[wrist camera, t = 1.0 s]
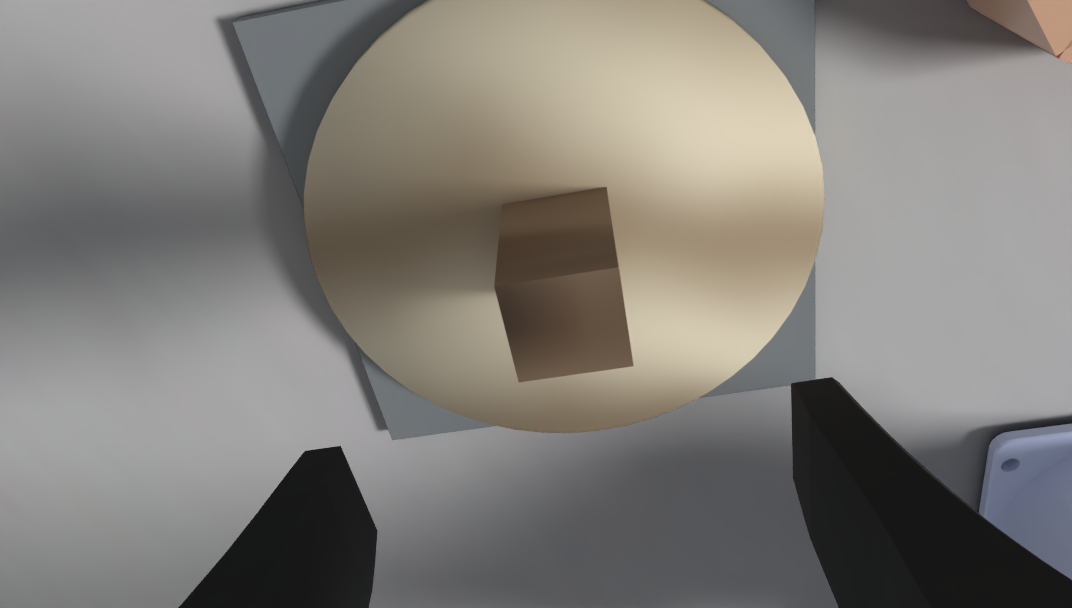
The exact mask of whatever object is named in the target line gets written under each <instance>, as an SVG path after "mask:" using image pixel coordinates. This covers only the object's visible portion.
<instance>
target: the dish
mask: <svg viewBox="0 0 1072 608" xmlns="http://www.w3.org/2000/svg"><path fill="white" fill-rule="evenodd" d="M966 1H967V3H968V4H969V6H970V7H971V8H972V9H974V10H975V11H977V12H979V13H981V14H982V15H984V16H986V17H988V18H989V19H991V20H993V21H994V22H996V23H998V24H1000V25H1001V26H1003V27H1005V28H1007V29H1008V30H1010V31H1012V32H1013V33H1015V34H1017V35H1019V36H1020V37H1022V38H1024V39H1026V40H1027V41H1029V42H1031V43H1033V44H1034V45H1036V46H1038V47H1039V48H1041V49H1043V50H1045V51H1046V52H1048V53H1050V54H1052V55H1053V56H1055V57H1057V58H1059V59H1061V60H1063V61H1066V62H1068V63H1071V64H1072V0H966Z"/></svg>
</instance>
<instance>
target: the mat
mask: <svg viewBox="0 0 1072 608" xmlns="http://www.w3.org/2000/svg"><path fill="white" fill-rule="evenodd" d="M425 1H426V0H325V1H320V2H315V3H310V4H305V5H300V6H295V7H290V8H285V9H280V10H275V11H270V12H265V13H260V14H255V15H250V16H245V17H240V18H237V19H236V20H235V21H234V22H233V25H234V28H235V31H236V33H237V36H238V38H239V41H240V44H241V46H242V49H243V51H244V54H245V57H246V59H247V62H248V64H249V67H250V70H251V72H252V75H253V78H254V80H255V83H256V85H257V88H258V91H259V93H260V96H261V98H262V101H263V104H264V106H265V109H266V111H267V114H268V117H269V119H270V122H271V125H272V127H273V130H274V132H275V135H276V138H277V140H278V143H279V145H280V148H281V151H282V153H283V156H284V158H285V161H286V164H287V166H288V169H289V172H290V174H291V177H292V179H293V182H294V185H295V187H296V190H297V192H298V195H299V198H300V200H301V203H302V205H303V208H304V188H305V181H306V173H307V166H308V160H309V157H310V153H311V150H312V147H313V143H314V140H315V136H316V133H317V130H318V128H319V126H320V124H321V121H322V119H323V117H324V115H325V113H326V111H327V109H328V106H329V104H330V102H331V100H332V98H333V97H334V95H335V94H336V92H337V90H338V89H339V87H340V86H341V84H342V83H343V81H344V80H345V78H346V77H347V75H348V74H349V72H350V71H351V69H352V68H353V66H354V65H355V63H356V62H357V60H358V59H359V58H360V57H361V56H362V55H363V54H364V52H365V51H366V50H367V49H368V48H369V47H370V46H371V45H372V44H373V43H374V41H375V40H376V39H377V38H378V37H379V36H380V35H381V34H382V33H383V32H384V31H386V30H387V29H388V28H389V27H390V26H392V25H393V24H394V23H395V22H396V21H398V20H399V19H400V18H401V17H402V16H404V15H405V14H406V13H407V12H409V11H410V10H412V9H413V8H415V7H417V6H418V5H420V4H422V3H423V2H425ZM706 1H708V2H710V3H711V4H713V5H714V6H716V7H717V8H719V9H720V10H722V11H723V12H725V13H726V14H728V15H729V16H730V17H731V18H732V19H734V20H735V21H736V22H737V23H738V24H739V25H740V26H741V27H742V28H744V29H745V30H746V31H747V32H748V33H749V34H750V35H751V36H753V37H754V38H755V39H756V40H757V42H758V43H759V44H760V45H761V47H762V48H763V49H764V50H765V51H766V53H767V54H768V55H769V56H770V58H771V59H772V60H773V61H774V62H775V64H776V65H777V66H778V67H779V69H780V70H781V71H782V73H783V74H784V75H785V77H786V78H787V80H788V82H789V83H790V85H791V87H792V88H793V90H794V92H795V93H796V95H797V97H798V98H799V100H800V102H801V104H802V105H803V107H804V110H805V112H806V115H807V117H808V120H809V122H810V125H811V127H812V130H813V132H814V135H815V0H706ZM355 344H356V346H357V349H358V352H359V354H360V357H361V360H362V362H363V365H364V367H365V370H366V373H367V375H368V378H369V380H370V383H371V386H372V388H373V391H374V393H375V396H376V399H377V401H378V404H379V407H380V409H381V412H382V414H383V417H384V420H385V422H386V425H387V427H388V430H389V433H390V435H391V438H392V440H397V439H404V438H411V437H418V436H426V435H433V434H440V433H447V432H455V431H462V430H469V429H476V428H483V427H491V426H496V425H492V424H487V423H483V422H480V421H477V420H474V419H471V418H468V417H465V416H462V415H459V414H456V413H454V412H452V411H450V410H447V409H445V408H443V407H441V406H438V405H436V404H434V403H432V402H430V401H428V400H427V399H425V398H423V397H421V396H420V395H418V394H416V393H414V392H413V391H411V390H409V389H408V388H406V387H405V386H404V385H402V384H401V383H399V382H398V381H397V380H395V379H394V378H393V377H391V376H390V375H389V374H387V373H386V372H385V371H384V370H382V369H381V368H380V367H379V366H378V365H377V364H376V363H375V362H374V361H373V360H372V359H371V358H370V357H368V356H367V355H366V354H365V353H364V352H363V350H362V349H361V348H360V347H359V346H358V345H357V343H356V342H355ZM809 380H815V262H814V264H813V267H812V270H811V272H810V275H809V277H808V280H807V283H806V285H805V288H804V289H803V291H802V293H801V295H800V297H799V299H798V300H797V302H796V304H795V306H794V308H793V310H792V311H791V313H790V315H789V316H788V317H787V319H786V320H785V321H784V323H783V324H782V326H781V327H780V328H779V330H778V331H777V332H776V334H775V335H774V337H773V338H772V339H771V340H770V341H769V342H768V343H767V344H766V345H765V346H764V347H763V348H762V349H761V351H760V352H759V353H758V354H757V355H756V356H755V357H754V358H753V359H752V360H751V361H749V362H748V363H747V364H746V365H745V366H744V367H742V368H741V369H740V370H739V371H738V372H736V373H735V374H734V375H733V376H732V377H730V378H729V379H727V380H726V381H724V382H723V383H721V384H720V385H719V386H717V387H716V388H714V389H713V390H711V391H710V392H708V393H706V394H705V395H703V396H701V397H708V396H715V395H722V394H730V393H737V392H744V391H751V390H758V389H766V388H773V387H780V386H787V385H791V383H795V382H802V381H809ZM701 397H699V398H701Z"/></svg>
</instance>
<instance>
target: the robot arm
mask: <svg viewBox="0 0 1072 608" xmlns="http://www.w3.org/2000/svg"><path fill="white" fill-rule="evenodd" d="M791 400H792V446H793V479H794V482H795V486H796V490H797V493H798V497H799V501H800V504H801V508H802V511H803V515H804V518H805V522H806V525H807V528H808V532H809V535H810V538H811V541H812V543H813V546H814V548H815V551H816V553H817V556H818V558H819V561H820V563H821V565H822V568H823V570H824V573H825V575H826V578H827V580H828V582H829V585H830V587H831V590H832V592H833V594H834V597H835V599H836V602H837V604H838V606H839V608H1072V424H1065V425H1057V426H1049V427H1041V428H1033V429H1026V430H1018V431H1010V432H1005V433H1002V434H1000V435H998V436H996V437H995V438H994V439H993V440H992V441H991V443H990V445H989V450H988V456H987V463H986V469H985V475H984V482H983V488H982V495H981V501H980V507H979V513H978V512H977V511H975V510H974V509H973V508H972V507H970V506H969V505H968V504H967V503H966V502H964V501H963V500H962V499H961V498H959V497H958V496H957V495H956V494H955V493H953V492H952V491H951V490H950V489H949V488H947V487H946V486H945V485H944V484H943V483H942V482H940V481H939V480H938V479H937V478H936V477H935V476H934V475H932V474H931V473H930V472H929V471H928V470H927V469H926V468H925V467H924V466H923V465H921V464H920V463H919V462H918V461H917V460H916V459H915V458H914V457H913V456H912V455H910V454H909V453H908V452H907V451H906V450H905V449H904V448H903V447H902V446H901V445H900V444H899V443H898V442H897V441H895V440H894V439H893V438H892V437H891V436H890V435H889V434H888V433H887V432H886V431H885V430H884V429H883V428H882V427H881V426H880V425H879V424H878V423H877V422H876V421H875V420H874V419H873V418H872V417H871V416H870V415H869V414H868V413H867V412H866V411H865V410H864V409H863V408H862V407H861V406H860V404H859V403H858V402H857V401H856V400H855V399H854V398H853V397H852V396H851V395H850V394H849V393H848V392H847V391H846V390H845V388H844V387H843V386H842V385H841V384H840V383H839V382H838V381H836V380H835V379H833V378H832V377H831V378H824V379H817V380H809V381H802V382H795V383H791ZM1008 459H1009V460H1008ZM1006 460H1008V461H1006ZM376 542H377V529H376V527H375V524H374V522H373V520H372V517H371V515H370V513H369V511H368V508H367V506H366V504H365V501H364V499H363V497H362V494H361V492H360V490H359V487H358V485H357V483H356V481H355V478H354V476H353V474H352V471H351V469H350V467H349V464H348V462H347V460H346V457H345V455H344V453H343V451H342V448H341V446H338V447H330V448H323V449H316V450H309V451H305V452H304V453H303V454H302V455H301V457H300V458H299V459H298V460H297V462H296V463H295V464H294V466H293V467H292V468H291V469H290V471H289V472H288V473H287V475H286V476H285V477H284V479H283V480H282V481H281V483H280V484H279V485H278V486H277V488H276V489H275V490H274V492H273V493H272V494H271V496H270V497H269V498H268V500H267V501H266V502H265V503H264V505H263V506H262V507H261V509H260V510H259V511H258V513H257V514H256V515H255V517H254V518H253V519H252V520H251V522H250V523H249V524H248V525H247V527H246V528H245V529H244V530H243V532H242V533H241V534H240V536H239V537H238V538H237V539H236V541H235V542H234V543H233V544H232V546H231V547H230V548H229V549H228V551H227V552H226V553H225V554H224V556H223V557H222V558H221V559H220V560H219V561H218V563H217V564H216V565H215V566H214V567H213V568H212V570H211V571H210V572H209V573H208V574H207V575H206V577H205V578H204V579H203V580H202V581H201V582H200V584H199V585H198V586H197V587H196V588H195V589H194V591H193V592H192V593H191V594H190V595H189V596H188V598H187V599H186V600H185V601H184V602H183V603H182V605H181V606H180V607H179V608H368V607H369V603H370V598H371V593H372V586H373V576H374V567H375V555H376Z"/></svg>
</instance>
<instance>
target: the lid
mask: <svg viewBox="0 0 1072 608" xmlns="http://www.w3.org/2000/svg"><path fill="white" fill-rule="evenodd" d="M824 202H825V197H824V183H823V168H822V164H821V160H820V155H819V151H818V146H817V142H816V137H815V135H814V132H813V130H812V127H811V125H810V122H809V120H808V117H807V115H806V112H805V110H804V107H803V105H802V104H801V102H800V100H799V98H798V97H797V95H796V93H795V92H794V90H793V88H792V87H791V85H790V83H789V82H788V80H787V78H786V77H785V75H784V74H783V73H782V71H781V70H780V69H779V67H778V66H777V65H776V64H775V62H774V61H773V60H772V59H771V58H770V56H769V55H768V54H767V53H766V51H765V50H764V49H763V48H762V47H761V45H760V44H759V43H758V42H757V40H756V39H755V38H754V37H753V36H751V35H750V34H749V33H748V32H747V31H746V30H745V29H744V28H742V27H741V26H740V25H739V24H738V23H737V22H736V21H735V20H734V19H732V18H731V17H730V16H729V15H728V14H726V13H725V12H723V11H722V10H720V9H719V8H717V7H716V6H714V5H713V4H711V3H710V2H708V1H706V0H426V1H425V2H423V3H422V4H420V5H418V6H417V7H415V8H413V9H412V10H410V11H409V12H407V13H406V14H405V15H404V16H402V17H401V18H400V19H399V20H398V21H396V22H395V23H394V24H393V25H392V26H390V27H389V28H388V29H387V30H386V31H384V32H383V33H382V34H381V35H380V36H379V37H378V38H377V39H376V40H375V41H374V43H373V44H372V45H371V46H370V47H369V48H368V49H367V50H366V51H365V52H364V54H363V55H362V56H361V57H360V58H359V59H358V60H357V62H356V63H355V65H354V66H353V68H352V69H351V71H350V72H349V74H348V75H347V77H346V78H345V80H344V81H343V83H342V84H341V86H340V87H339V89H338V90H337V92H336V94H335V95H334V97H333V98H332V100H331V102H330V104H329V106H328V109H327V111H326V113H325V115H324V117H323V119H322V121H321V124H320V126H319V128H318V130H317V133H316V136H315V140H314V143H313V147H312V150H311V153H310V157H309V160H308V166H307V173H306V181H305V188H304V224H305V230H306V236H307V242H308V248H309V254H310V257H311V260H312V263H313V266H314V270H315V273H316V276H317V279H318V282H319V284H320V286H321V288H322V290H323V292H324V294H325V296H326V299H327V301H328V303H329V305H330V307H331V309H332V310H333V312H334V313H335V315H336V316H337V318H338V319H339V321H340V322H341V324H342V325H343V327H344V329H345V330H346V331H347V333H348V334H349V335H350V336H351V337H352V339H353V340H354V341H355V342H356V343H357V345H358V346H359V347H360V348H361V349H362V350H363V352H364V353H365V354H366V355H367V356H368V357H370V358H371V359H372V360H373V361H374V362H375V363H376V364H377V365H378V366H379V367H380V368H381V369H382V370H384V371H385V372H386V373H387V374H389V375H390V376H391V377H393V378H394V379H395V380H397V381H398V382H399V383H401V384H402V385H404V386H405V387H406V388H408V389H409V390H411V391H413V392H414V393H416V394H418V395H420V396H421V397H423V398H425V399H427V400H428V401H430V402H432V403H434V404H436V405H438V406H441V407H443V408H445V409H447V410H450V411H452V412H454V413H456V414H459V415H462V416H465V417H468V418H471V419H474V420H477V421H480V422H483V423H487V424H492V425H496V426H501V427H506V428H510V429H516V430H525V431H534V432H548V433H574V432H586V431H598V430H604V429H610V428H615V427H620V426H626V425H630V424H633V423H637V422H640V421H644V420H647V419H651V418H654V417H657V416H659V415H662V414H664V413H667V412H669V411H672V410H674V409H677V408H679V407H682V406H684V405H686V404H688V403H689V402H691V401H693V400H695V399H697V398H699V397H701V396H703V395H705V394H706V393H708V392H710V391H711V390H713V389H714V388H716V387H717V386H719V385H720V384H721V383H723V382H724V381H726V380H727V379H729V378H730V377H732V376H733V375H734V374H735V373H736V372H738V371H739V370H740V369H741V368H742V367H744V366H745V365H746V364H747V363H748V362H749V361H751V360H752V359H753V358H754V357H755V356H756V355H757V354H758V353H759V352H760V351H761V349H762V348H763V347H764V346H765V345H766V344H767V343H768V342H769V341H770V340H771V339H772V338H773V337H774V335H775V334H776V332H777V331H778V330H779V328H780V327H781V326H782V324H783V323H784V321H785V320H786V319H787V317H788V316H789V315H790V313H791V311H792V310H793V308H794V306H795V304H796V302H797V300H798V299H799V297H800V295H801V293H802V291H803V289H804V288H805V285H806V283H807V280H808V277H809V275H810V272H811V270H812V267H813V264H814V262H815V259H816V255H817V250H818V246H819V242H820V237H821V233H822V226H823V214H824Z"/></svg>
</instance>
